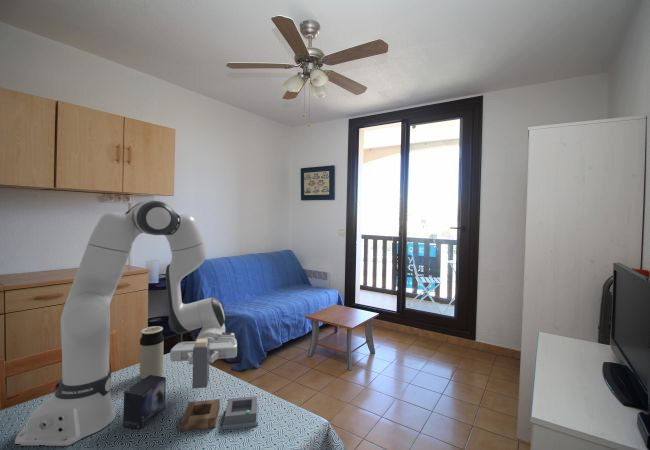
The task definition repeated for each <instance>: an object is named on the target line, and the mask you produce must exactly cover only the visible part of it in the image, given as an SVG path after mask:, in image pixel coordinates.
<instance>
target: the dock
mask: <svg viewBox="0 0 650 450" xmlns="http://www.w3.org/2000/svg"><path fill="white" fill-rule="evenodd" d="M258 425H259V402H258V396H257V395H254V396H253V395H252V396H244V397H233V398H228V399H227V403H226V409H225V414H224V419H223V423H222V430H231V429H238V428H239V429H241V428H249V427H256V426H258Z"/></svg>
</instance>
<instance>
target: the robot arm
mask: <svg viewBox="0 0 650 450" xmlns="http://www.w3.org/2000/svg"><path fill="white" fill-rule="evenodd" d="M141 234H146V235H151V236H152V235H153V236H165V238H166V240H167V241H168V245H169V249H170V252H171V260H170V263H169V264H167V266H166V269H165V286H166V295H167V296H166V297H167V304H168V306H167V307H168V325H169V329H170V330H171V331H172V332H174V333H176V334H179V335H183V334H186V333H188V332H191V331H193V330H197V329H200V328H201V330H200V332H199V334H198V335H197V337H196V339H195V340H194V341H193V340H191V341H189V340H188V341H181V342H178V343H176V344H175V345H173V347H172V348H171V349H170V353H169V354H170V355H169V357H170V359H169V361H171V362H185V361H186V362H187V361H188V365H193V348H194V346H195V343H196V341H197V339H205V338H208V343H209V342H210V350H209V356H208V363H209V364H213V363H214V361H216V360H219V359H220V360H222V359H223V360H224V359H234V358H236V357H237V355H238V340H237V338H235V337H236V336H235V332H227V331H226V326H225V324H226V323H225V322H226V312H225V307H224V305H223V303H222V302H221V301H220V300H219V299H217V298H216V297H214V296H213V297H209V298H204V299H201V300H197V301H194V302H190V303H183V299H182V298H183V297H182V291H181V290H182V289H181V288H182V287H181V282H182V280H183V279H184V278H185V277H186V276H188V275H190V274H191V273H192V272H194V271H195V270H197V269H199V267H200V266H202V264H204V262H205V259H206V257H207V250H206V245H205V241H204V237H203V233H202V232H201V229H200V227H199V225H198V222H197V221H196V219H195V218H194V217H193V216H192V215H190V214H179V213H177V212H176V211H175V210H174V209H173V208H172V207H171V206H170V205H169V204H167V203H165V202H163V201H159V200H155V199H153V200H152V199H149V200H144V201H141V202H138V203H136V204H135V205H133V206H132V207H130V209H129V210H127V211H125V213H124V212H119V211H111V212H107V213H104V214H103V215H102V216H101V217H100V218H99V220H98V222H97V224H96V225H95V227H94V229H93V231H92V233H91V235H90V237H89V239H88V242H87V243H86V248H85V250H84V252H83V255H82V258H81V260H80V263H79V266H78V269H77V271H76V273H75V276H74V279H73V282H72V284H71V288H70V290H69V292H68V296H67V298H66V301H65V303H64V306H63V309H62V312H61V316H60V338H61V339H60V341H61V357H62V360H61V363H62V364H61V366H62V369H61V372H62V373H61V374H62V375H61V379H59V380H58V381H56V383H55V384H54V385H53V386H51V392H54V391H55V392H54V393H53V394H52V395H50V396H49V397H48V398H47V399H46V400H44V401H43V402H42V403H41V404H39V405H38V406H37V407H36V408H35V409H34V410H33V412H32V413H31V414H30V416H29V418H28V421H27V424H26V425H25V426H24V427H23V428H22V429H21V430H20V431H19V432H18V434H17V435H16V437H15V440H14V445H15V444H21V445H20V446H39V445H42V446H43V445H45V446H48V447H49V446H53V447H55V446H58V447H59V446H60V447H62V446H63V447H64V446H71V445H72V444H74V443H76V442H78V441H80V440H81V439H84V438H85V437H88V436H90V435H93V434H95V433H97V432H99V431H101V430H102V429H104V428H106V427H107V426H109V424H111V423H112V422H113V421H114V420H115V418H116V415H117V413H116V411H115V407H114V405H113V404H114V403H113V401H112V395H111V389H112V370H111V368H110V340H111V339H110V338H111V308H110V306H111V301H112V299H113V296H114V294H115V292H116V289H117V287H118V285H119V282H120V281H121V279H122V276H123V274H124V270H125V268H126V266H127V265H126V264H127V262H128V260H129V256H130V252H131V251H132V247H133V243H134V242H135V240H136V238H137V237H138V236H139V235H141Z"/></svg>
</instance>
